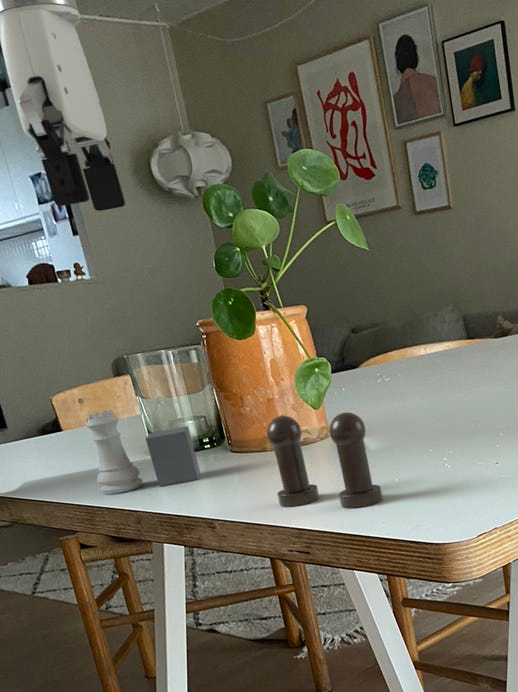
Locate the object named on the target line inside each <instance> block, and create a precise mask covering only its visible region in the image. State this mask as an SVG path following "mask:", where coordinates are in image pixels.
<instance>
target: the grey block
mask: <svg viewBox="0 0 518 692" xmlns="http://www.w3.org/2000/svg"><path fill="white" fill-rule="evenodd" d="M192 440H193V439H192V437H191V433H190V429H189V426H188V425H187V426H182V427H176V428H169V429H165V430H159V431H154V432H149V433H148V434H147V436H146V438H145V441H146V446H147V449H148V452H149V456H150V459H151V463H152V466H153V469H154V470H153V471H154V473H155V476H156V481H157V483H158V487H165V486H171V485H176V484H180V483H186V482H191V481H192V482H193V481H196V480H199V478H200V474H201V470H200V467H199V466H200V465H199V462H198V459H197V455H196V451H195V448H194V443H193V441H192Z"/></svg>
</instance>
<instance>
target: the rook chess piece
mask: <svg viewBox="0 0 518 692" xmlns="http://www.w3.org/2000/svg"><path fill="white" fill-rule="evenodd" d="M99 413H100V414H99ZM86 418H87V422H86V424H85V427H87V428H88V429H89V430H90V431H91V432H92V434H93V438H92V441H93V442H95V445H96V449H97V454H98V460H99V468H98V471H99V473H98V475H97V479H96V480H97V483H99V484H100V485H101V486H100V488H99V489H98V490H99V491H100V492H101V493H102V494H103V495H115V494H121V493H127V492H130V491H132V490H136V489H138V488H140V487H142V484H143V479H142V478H140V477H139V475H140V470H139V468H137V467H136V466H134V464H133V461H131V460H130V459H129V457H128V454H127V453H126V451H125V448H124V446H123V444H122V441H121V435H122V434H121V433H120V432H119V431H118V429H117V425H118V422H119V418H118V417H117V416H116V415H115V414H114V412H113V409H109V410H106V409H105V410H102V411H101V412H99V411H96V412H92V413H88V414H86Z"/></svg>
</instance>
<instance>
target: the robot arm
mask: <svg viewBox="0 0 518 692" xmlns="http://www.w3.org/2000/svg"><path fill="white" fill-rule="evenodd" d="M81 20H82V19H81V15H80V12H79V9H78V5H77V2H76V0H0V47H1V51H2V56H3V61H4V64H5V65H4V66H5V69H6V73H7V77H8V81H9V84H10V88H11V92H12V95H13V99H14V102H15V106H16V110H17V114H18V117H19V120H20V124H21V127H22V130H23V132H24V134H25V135H26V136H27V137H28V138H29V139H32V140H33V141H35V142H36V147H35V148H36V152H37V154H38V156H39V158H40V159H41V163H42V167H43V170H44V173H45V176H46V180H47V183H48V186H49V189H50V193H51V195H52V200H53V202H54V204H55V205H56V206H58V207H65V206H70V205H76V204H81V203H86V202H89V200H90V199H91V204H92V206H93V209H94V210H95V211H96V212H97V211H98V212H103V211H108V210H113V209H119V208H123V207H125V206H126V200H125V196H124V193H123V190H122V186H121V183H120V179H119V175H118V172H117V168H116V165H115V159H114V155H113V154H112V152H111V142H110V141H109V140H108V137H107V135H108V134H107V133H108V132H107V126H106V121H105V118H104V117H105V116H104V113H103V110H102V105H101V102H100V99H99V96H98V92H97V89H96V86H95V83H94V82H95V81H94V79H93V76H92V74H91V71H90V67H89V64H88V61H87V58H86V55H85V51H84V49H83V46H82V44H81V41H80V38H79V34H78V32H77V30H76V26H77V25H79V24H80V23H81ZM72 144H73V146H74V148H75V150H76V152H77V153H78V154H77V153H72ZM87 147H88V149H87ZM78 155H79V157H80V159H81V161H82V163H83V164H84V166H85V167H86V168H82V167H81V164H80V160H79V157H78Z"/></svg>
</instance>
